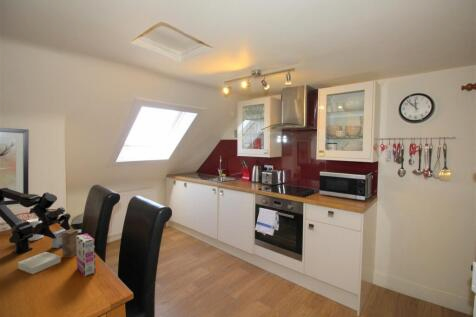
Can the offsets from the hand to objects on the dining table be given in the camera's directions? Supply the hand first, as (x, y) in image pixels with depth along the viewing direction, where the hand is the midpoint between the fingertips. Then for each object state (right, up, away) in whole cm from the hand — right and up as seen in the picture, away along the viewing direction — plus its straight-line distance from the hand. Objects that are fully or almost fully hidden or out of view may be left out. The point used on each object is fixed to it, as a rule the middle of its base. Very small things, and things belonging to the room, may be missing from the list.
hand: (62, 234), depth 128 cm
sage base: (-4, -12, -10) cm, 16 cm away
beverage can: (-32, -9, +20) cm, 39 cm away
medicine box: (-10, -10, +12) cm, 18 cm away
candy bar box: (+22, -13, -15) cm, 29 cm away
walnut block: (+4, -11, 0) cm, 12 cm away
